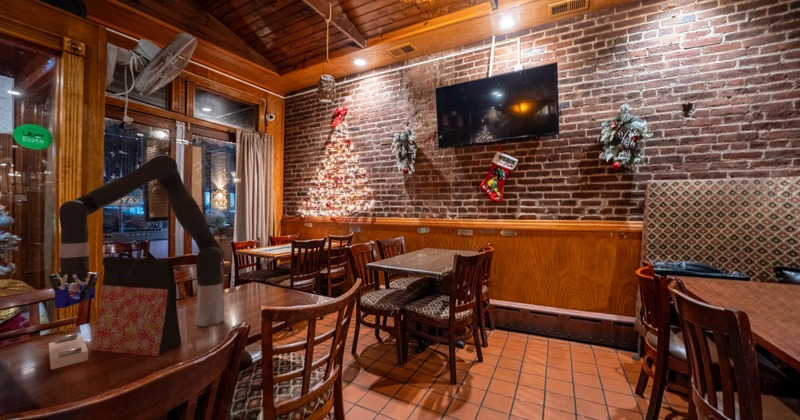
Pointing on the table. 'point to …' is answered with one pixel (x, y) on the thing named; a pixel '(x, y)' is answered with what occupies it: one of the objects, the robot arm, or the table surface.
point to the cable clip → (70, 298)
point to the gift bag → (137, 306)
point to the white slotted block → (67, 351)
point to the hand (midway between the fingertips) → (74, 301)
